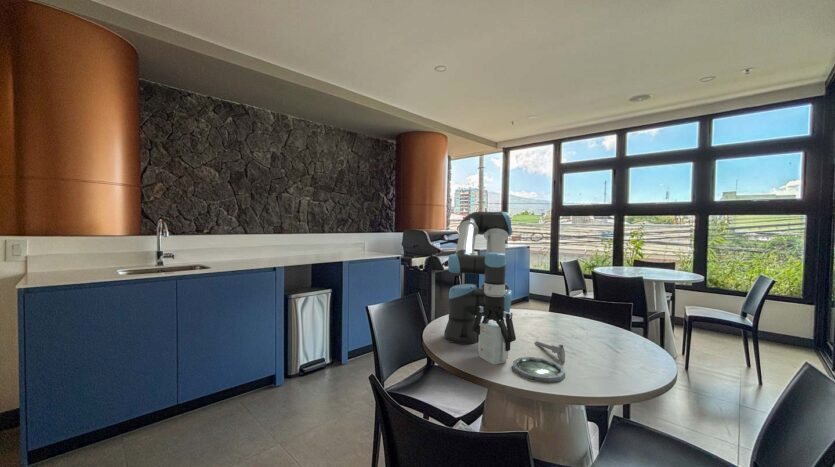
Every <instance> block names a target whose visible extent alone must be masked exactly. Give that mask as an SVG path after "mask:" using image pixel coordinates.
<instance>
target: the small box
mask: <svg viewBox="0 0 835 467" xmlns="http://www.w3.org/2000/svg"><path fill="white" fill-rule="evenodd" d="M506 328H507V326H506ZM504 341H505V340H504V338H503V335H502V333H501V328H500V327H499V325H498V324H497V322H496V321H493V320H489V322H487V323H482V322H481V323H480V352H479V358H481V359H483V360H484V361H486V362H488V363H489V364H491V365H498V364H503V363H507V359H506V360H502V350H503V342H504Z"/></svg>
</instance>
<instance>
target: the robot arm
mask: <svg viewBox="0 0 835 467" xmlns="http://www.w3.org/2000/svg"><path fill="white" fill-rule="evenodd" d="M458 232H459V233H458V234H459V235H458V240H457V245H456V250H455V253H454V254H449V256H448V259H447V267H448V271H449V273H453V274H470V275H472V274H473V275H484V282H483V283H482V284H481V288H480V287H479V288H478V287H477V284H474V283H464V284H462V283H461V284H456V285H453V286H452V287H450V289H449V291H448V292H449V293H448V294H449V295H448V321H447V323H446V327H445V329H444V333H443V334H444V335H443V337H444V339H445V340H446V341H448V342H450V343H454V344H459V345H468V344H470V345H471V344H474V343H478V345H477V346H478V353H480V323H487V322H490V321H494V322H497V324H498V325H499V327H500V328H501V333H502V335H503V338H504V340H505V341H504V342H503V350H502V360H506V361H507V360H508V359H509V351H511V343H513V342H515V341H517V338H516V333H515V332H516V331H515V328H514V322H513V312H511V311H510V310H511V304H512V296H513V290H511V289H510V288H509V285H508V284H507V283H506V273H507V272H506V270H507V267H506V265H507V260H506V259H507V257H506V240H508V239H509V236H511V234H512V218H511V215H510V214H509V212H507V211H501V210H500V211H478V210H477V211H474V212H471V213H469V214H468V215H466V216H465V217H464V218H463V219H462V220H461V221H460V223H459V226H458ZM478 235H480V236H481V235H482V236H483V238H484V240H486V253H485V255H482V254H481V255H480V254H479V255H478V254H475V253H474V251H475V245H476V236H478ZM482 317H483V319H482ZM506 327H507V328H506Z"/></svg>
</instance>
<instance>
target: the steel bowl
mask: <svg viewBox="0 0 835 467" xmlns="http://www.w3.org/2000/svg"><path fill="white" fill-rule="evenodd" d="M512 368H513V372H514V373H515V374H517V375H518V376H520V377H521V378H524V379H527V380H530V381H533V382H539V383H547V384H548V383H557V382H561V381H562V380H563V379H565V378H566V371H565V368H564V366H562V365H561V364H559V363H557V362H555V361H553V360H549V359H546V358H542V357H535V356H534V357H533V356H527V357H526V356H525V357H524V356H523V357H519V358H516V359H515V360H513V361H512Z"/></svg>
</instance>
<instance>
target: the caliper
mask: <svg viewBox="0 0 835 467" xmlns="http://www.w3.org/2000/svg"><path fill="white" fill-rule="evenodd" d="M534 344H535V345H537V346H538V347H541V348H545V349H548V350H551V352H552V353H553V354H556V355H557V359H558V361H560V362H561V363H564V362H565V360H566V351H565V348H564V344H558V345H554V344H548V343H546V342H542V341H539V340H536V341H534Z"/></svg>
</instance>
